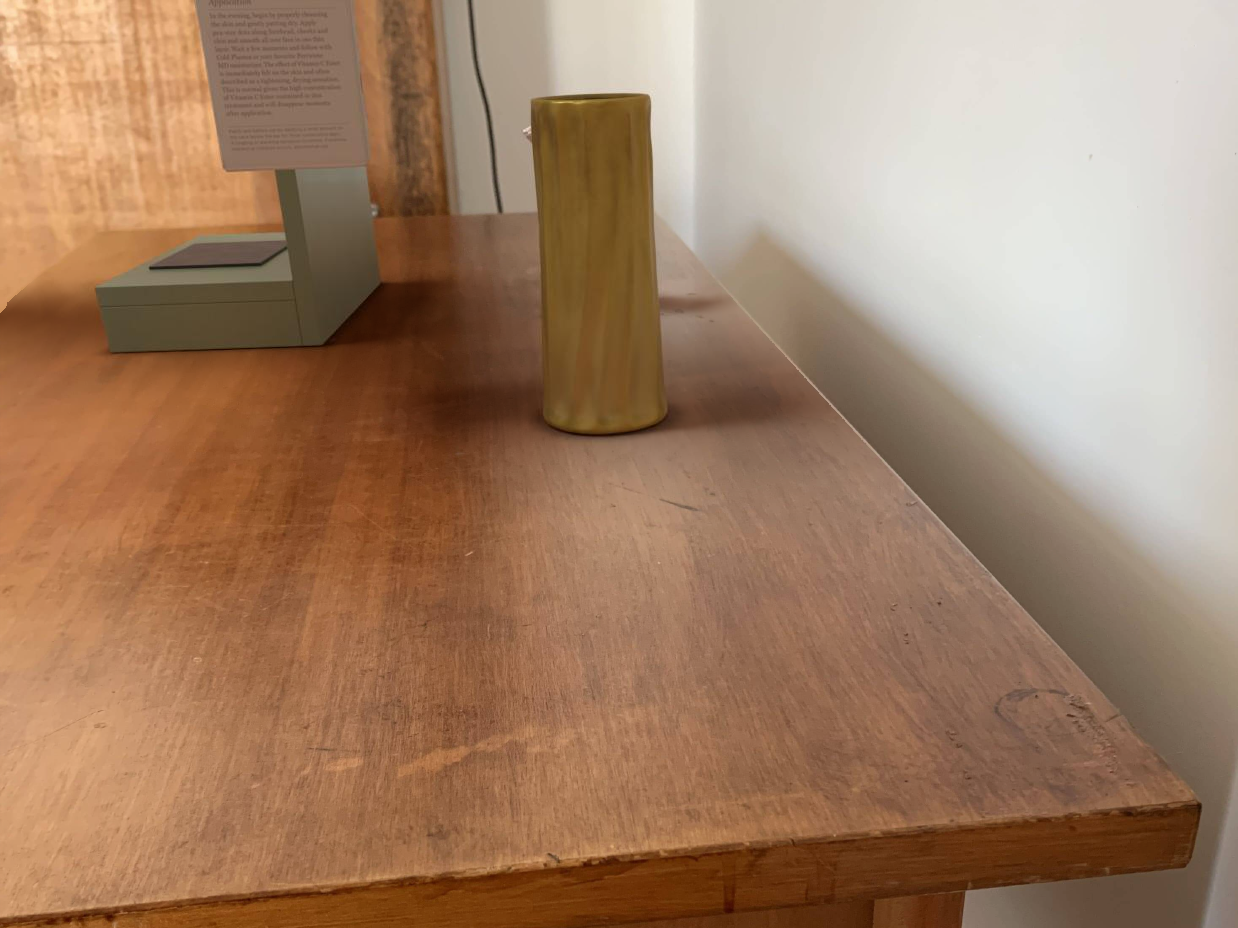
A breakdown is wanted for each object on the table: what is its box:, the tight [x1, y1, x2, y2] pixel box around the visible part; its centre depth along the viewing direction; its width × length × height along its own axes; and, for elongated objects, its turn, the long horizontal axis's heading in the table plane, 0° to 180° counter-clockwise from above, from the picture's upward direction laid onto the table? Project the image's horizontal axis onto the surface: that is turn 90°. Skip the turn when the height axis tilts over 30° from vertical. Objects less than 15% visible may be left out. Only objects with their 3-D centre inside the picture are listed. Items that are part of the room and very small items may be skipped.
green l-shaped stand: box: [94, 166, 381, 354], centre depth 78 cm, size 13×20×12 cm, turn 1°
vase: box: [530, 92, 669, 435], centre depth 54 cm, size 6×6×14 cm
